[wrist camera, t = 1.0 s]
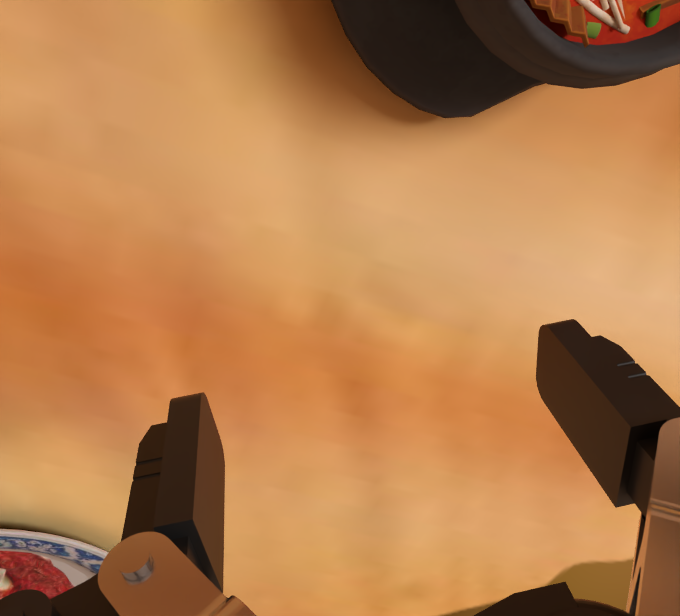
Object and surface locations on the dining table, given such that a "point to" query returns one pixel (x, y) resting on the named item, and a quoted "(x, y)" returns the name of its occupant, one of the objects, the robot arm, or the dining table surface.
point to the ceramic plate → (45, 562)
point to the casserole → (507, 46)
